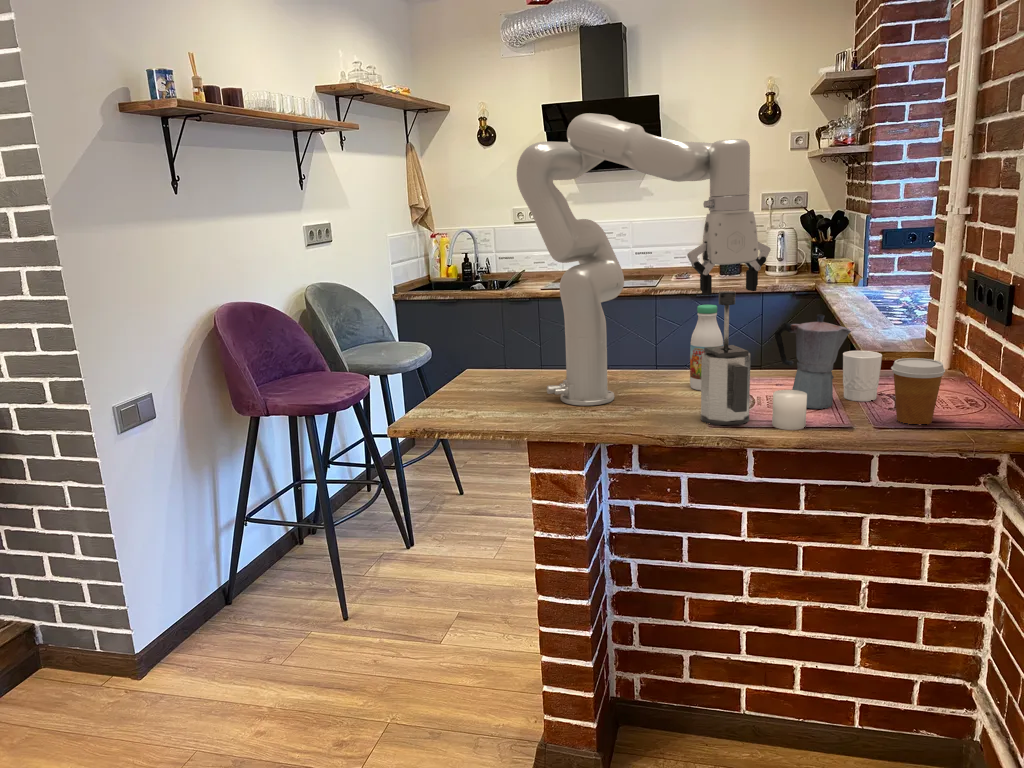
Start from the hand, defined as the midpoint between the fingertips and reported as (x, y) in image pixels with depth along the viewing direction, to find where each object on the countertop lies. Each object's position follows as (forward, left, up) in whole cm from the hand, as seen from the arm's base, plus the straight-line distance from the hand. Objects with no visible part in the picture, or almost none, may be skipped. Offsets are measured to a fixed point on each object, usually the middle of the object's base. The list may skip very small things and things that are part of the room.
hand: (728, 292), depth 160 cm
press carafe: (0, -1, -27) cm, 27 cm away
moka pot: (+22, +4, -27) cm, 35 cm away
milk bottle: (+8, +26, -27) cm, 38 cm away
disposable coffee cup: (+34, -14, -27) cm, 45 cm away
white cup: (+35, +5, -27) cm, 44 cm away
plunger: (0, 0, -14) cm, 14 cm away
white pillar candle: (+10, -8, -27) cm, 29 cm away
